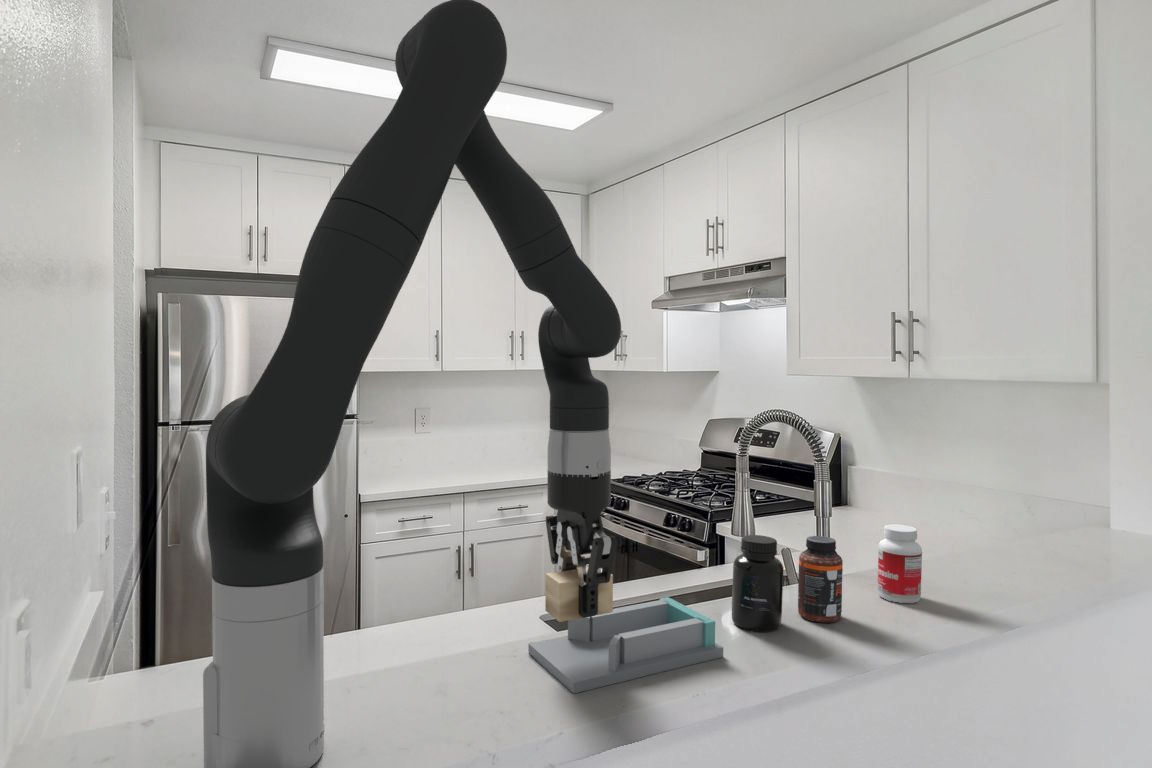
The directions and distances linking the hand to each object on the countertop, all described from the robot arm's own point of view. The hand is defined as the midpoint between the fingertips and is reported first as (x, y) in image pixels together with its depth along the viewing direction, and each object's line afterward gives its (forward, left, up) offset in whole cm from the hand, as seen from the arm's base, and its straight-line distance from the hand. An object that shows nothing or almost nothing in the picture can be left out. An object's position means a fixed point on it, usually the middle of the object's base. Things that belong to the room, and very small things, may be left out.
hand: (578, 608), depth 84 cm
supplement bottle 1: (+26, +12, -7) cm, 29 cm away
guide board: (+6, +3, -7) cm, 10 cm away
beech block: (0, 0, 0) cm, 0 cm away
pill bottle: (+52, +21, -7) cm, 57 cm away
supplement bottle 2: (+36, +14, -7) cm, 39 cm away
